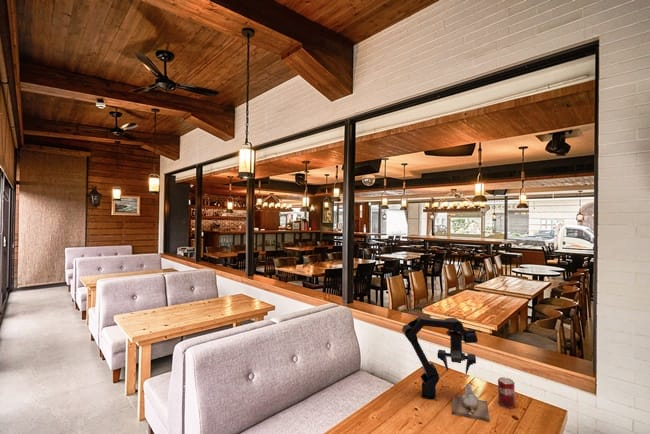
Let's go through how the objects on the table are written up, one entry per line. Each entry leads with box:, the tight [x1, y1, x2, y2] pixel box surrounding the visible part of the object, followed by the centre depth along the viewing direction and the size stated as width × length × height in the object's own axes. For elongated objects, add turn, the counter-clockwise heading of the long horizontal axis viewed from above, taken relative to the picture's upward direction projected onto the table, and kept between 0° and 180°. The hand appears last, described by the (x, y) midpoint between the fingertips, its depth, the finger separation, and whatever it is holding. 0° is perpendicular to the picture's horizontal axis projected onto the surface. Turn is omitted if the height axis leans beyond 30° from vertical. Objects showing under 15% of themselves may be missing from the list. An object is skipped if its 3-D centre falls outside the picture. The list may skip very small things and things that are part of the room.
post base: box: [451, 394, 490, 423], centre depth 157 cm, size 16×15×2 cm
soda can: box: [497, 376, 516, 409], centre depth 160 cm, size 7×7×12 cm
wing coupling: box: [461, 383, 479, 412], centre depth 156 cm, size 12×7×8 cm, turn 165°
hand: (456, 372), depth 169 cm, fingers open, 9 cm apart
